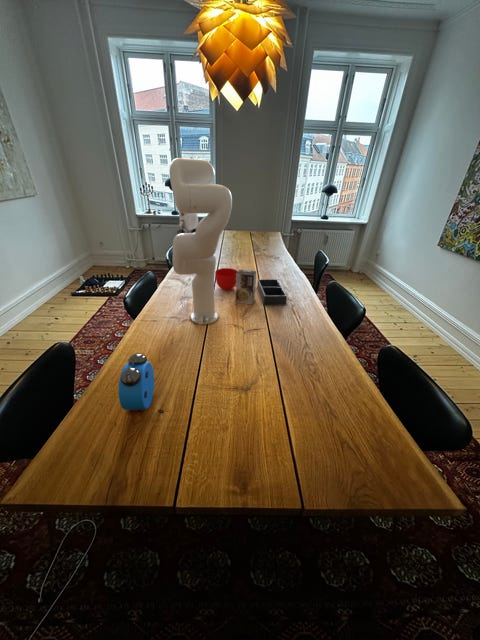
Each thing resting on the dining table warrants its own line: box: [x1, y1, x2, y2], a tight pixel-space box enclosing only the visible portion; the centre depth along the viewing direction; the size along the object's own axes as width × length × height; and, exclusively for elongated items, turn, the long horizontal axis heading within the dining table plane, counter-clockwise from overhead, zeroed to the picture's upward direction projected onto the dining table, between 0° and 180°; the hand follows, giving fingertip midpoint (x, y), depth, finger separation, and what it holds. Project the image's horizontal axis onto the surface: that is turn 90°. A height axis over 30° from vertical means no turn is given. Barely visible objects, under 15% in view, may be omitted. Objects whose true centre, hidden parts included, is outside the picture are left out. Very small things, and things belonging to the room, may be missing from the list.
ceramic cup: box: [214, 267, 239, 291], centre depth 145 cm, size 13×17×10 cm
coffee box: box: [235, 269, 257, 305], centre depth 132 cm, size 9×6×16 cm
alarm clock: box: [118, 352, 155, 413], centre depth 72 cm, size 13×6×15 cm, turn 4°
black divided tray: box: [256, 278, 288, 306], centre depth 141 cm, size 23×12×5 cm, turn 5°
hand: (189, 241), depth 127 cm, fingers open, 9 cm apart
